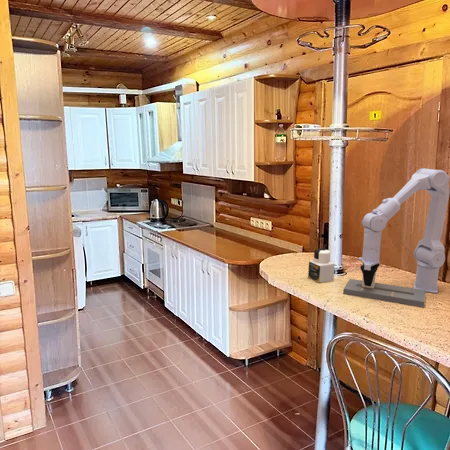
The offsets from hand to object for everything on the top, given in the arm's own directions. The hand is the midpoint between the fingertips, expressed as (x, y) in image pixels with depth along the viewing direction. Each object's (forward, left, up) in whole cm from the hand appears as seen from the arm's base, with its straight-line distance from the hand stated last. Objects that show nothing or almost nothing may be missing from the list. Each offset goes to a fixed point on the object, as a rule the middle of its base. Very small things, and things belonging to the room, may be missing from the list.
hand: (368, 284), depth 148 cm
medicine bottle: (-6, -18, -3) cm, 20 cm away
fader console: (0, +6, -3) cm, 6 cm away
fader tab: (0, 0, -1) cm, 1 cm away
